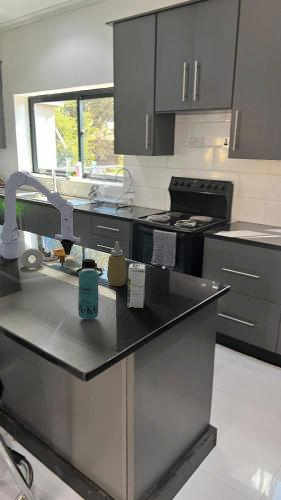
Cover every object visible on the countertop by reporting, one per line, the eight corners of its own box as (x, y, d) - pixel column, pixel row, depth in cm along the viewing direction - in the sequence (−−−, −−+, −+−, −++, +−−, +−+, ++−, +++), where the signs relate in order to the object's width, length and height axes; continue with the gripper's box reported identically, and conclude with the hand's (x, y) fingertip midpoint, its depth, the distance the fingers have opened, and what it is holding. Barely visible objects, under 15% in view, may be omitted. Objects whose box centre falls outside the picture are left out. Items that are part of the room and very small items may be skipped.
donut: (43, 267, 174) (42, 246, 172) (44, 269, 171) (43, 248, 169) (20, 269, 171) (19, 248, 168) (21, 271, 168) (20, 249, 165)
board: (28, 259, 186) (28, 249, 185) (58, 254, 198) (57, 244, 197) (49, 268, 172) (49, 257, 171) (80, 262, 184) (80, 251, 183)
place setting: (77, 281, 158) (77, 268, 157) (57, 269, 174) (57, 257, 172) (112, 274, 168) (112, 262, 167) (90, 264, 184) (90, 252, 182)
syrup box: (128, 301, 136) (128, 263, 133) (144, 302, 136) (145, 263, 133) (127, 307, 131) (127, 267, 127) (143, 308, 131) (145, 268, 127)
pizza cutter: (43, 262, 176) (43, 254, 176) (33, 257, 183) (33, 250, 183) (70, 256, 187) (70, 250, 186) (59, 252, 194) (59, 246, 193)
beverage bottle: (79, 315, 123) (78, 256, 118) (99, 315, 124) (99, 256, 119) (77, 324, 117) (76, 262, 112) (98, 323, 118) (98, 262, 113)
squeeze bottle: (129, 283, 156) (130, 241, 152) (120, 289, 149) (121, 244, 145) (112, 280, 159) (113, 238, 155) (103, 285, 152) (103, 242, 148)
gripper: (50, 226, 181) (51, 254, 185) (73, 230, 174) (73, 258, 178) (60, 224, 187) (60, 251, 191) (83, 228, 180) (83, 255, 184)
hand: (67, 254), depth 185 cm, fingers closed
